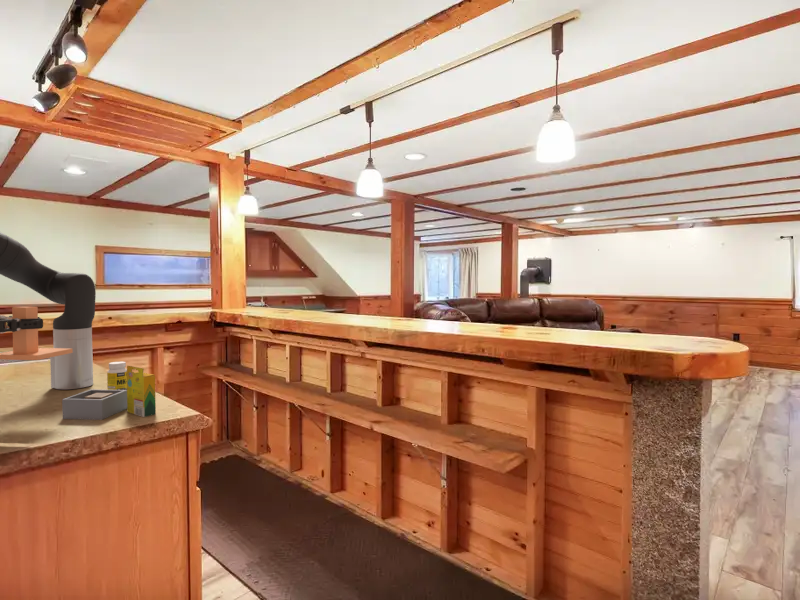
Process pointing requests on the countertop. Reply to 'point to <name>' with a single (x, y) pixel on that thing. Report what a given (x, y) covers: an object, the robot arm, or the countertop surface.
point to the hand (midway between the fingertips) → (41, 322)
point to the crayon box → (140, 392)
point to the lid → (29, 340)
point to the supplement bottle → (117, 376)
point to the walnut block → (98, 395)
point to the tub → (94, 405)
